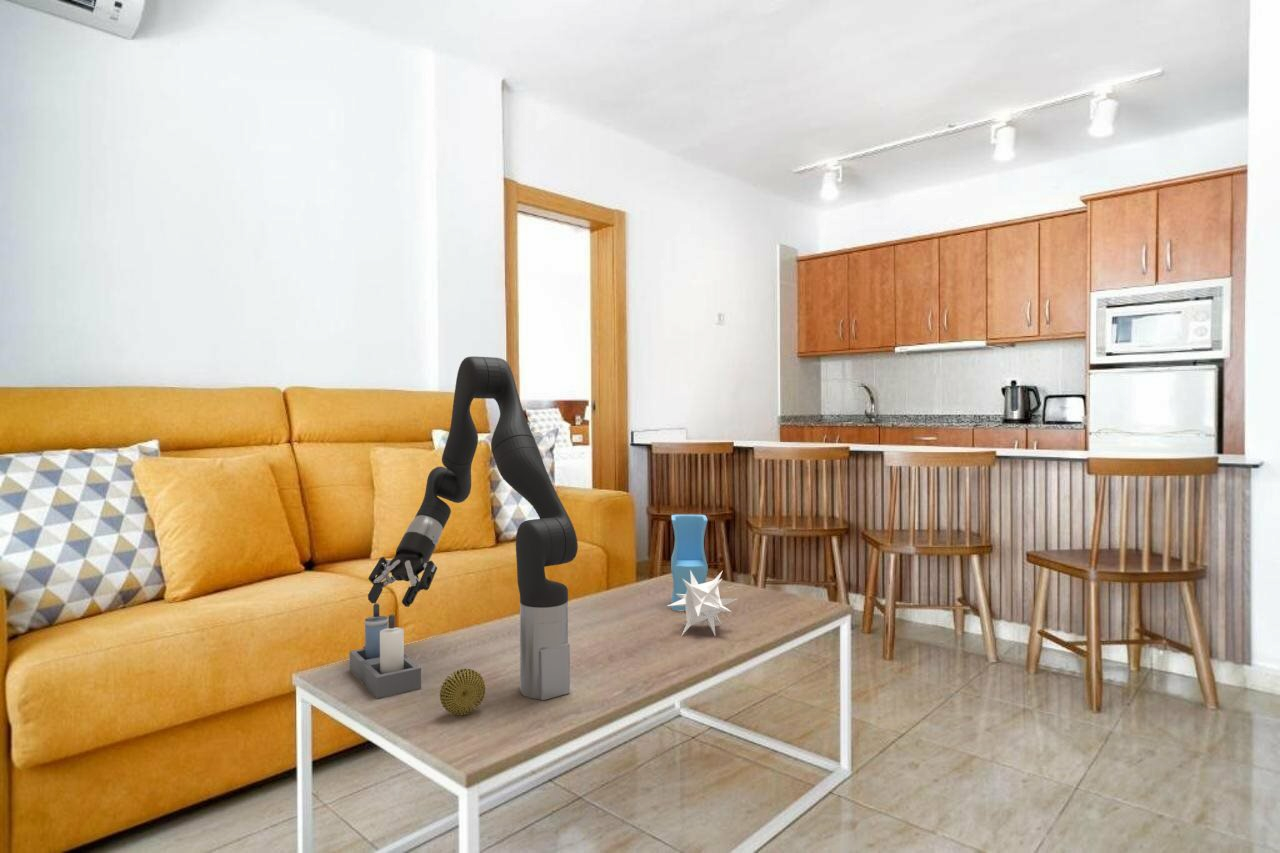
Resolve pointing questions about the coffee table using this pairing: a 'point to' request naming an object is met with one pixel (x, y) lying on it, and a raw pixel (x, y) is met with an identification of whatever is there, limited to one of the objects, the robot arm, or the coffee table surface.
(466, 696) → the sculpture
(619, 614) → the coffee table surface
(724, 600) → the star ornament
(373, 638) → the canister
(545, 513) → the robot arm
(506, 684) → the coffee table surface
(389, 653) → the gray two-compartment caddy
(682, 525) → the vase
